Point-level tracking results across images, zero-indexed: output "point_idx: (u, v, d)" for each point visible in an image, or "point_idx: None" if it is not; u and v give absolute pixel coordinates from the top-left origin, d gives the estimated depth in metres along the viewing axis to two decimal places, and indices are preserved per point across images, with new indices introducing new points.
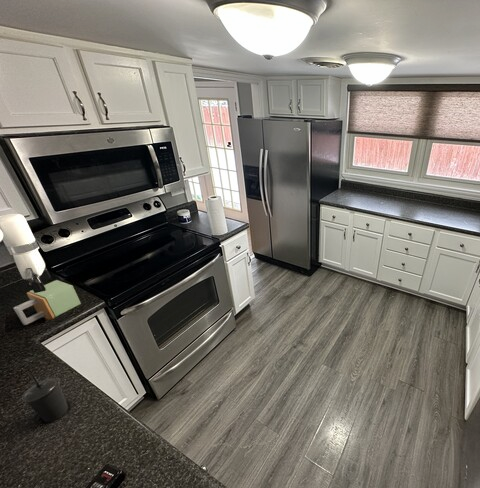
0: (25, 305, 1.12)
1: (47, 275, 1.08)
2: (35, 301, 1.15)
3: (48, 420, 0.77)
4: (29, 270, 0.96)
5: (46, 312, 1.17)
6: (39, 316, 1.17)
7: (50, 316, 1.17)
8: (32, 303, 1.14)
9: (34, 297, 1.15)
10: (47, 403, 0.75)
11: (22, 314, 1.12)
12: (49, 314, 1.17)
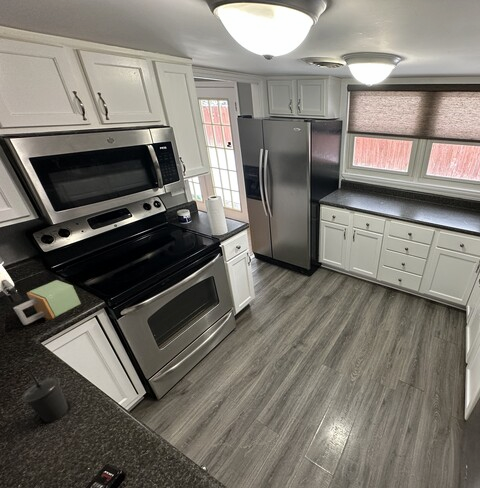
0: (25, 305, 1.12)
1: None
2: (35, 301, 1.15)
3: (48, 420, 0.77)
4: (6, 281, 1.02)
5: (46, 312, 1.17)
6: (39, 316, 1.17)
7: (50, 316, 1.17)
8: (32, 303, 1.14)
9: (34, 297, 1.15)
10: (47, 403, 0.75)
11: (22, 314, 1.12)
12: (49, 314, 1.17)
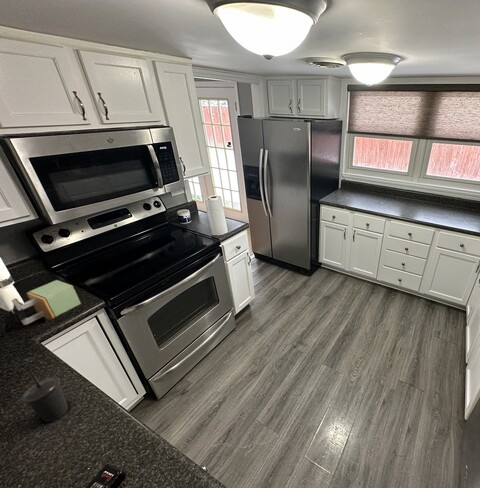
0: (25, 305, 1.12)
1: None
2: (35, 301, 1.15)
3: (48, 420, 0.77)
4: (16, 302, 1.07)
5: (46, 312, 1.17)
6: (39, 316, 1.17)
7: (50, 316, 1.17)
8: (32, 303, 1.14)
9: (34, 297, 1.15)
10: (47, 403, 0.75)
11: None
12: (49, 314, 1.17)
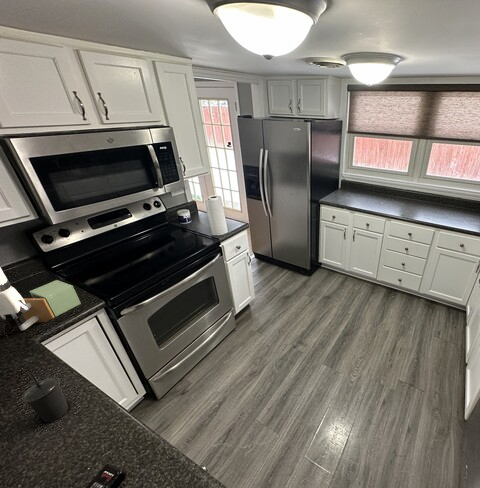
0: None
1: None
2: (29, 305, 1.13)
3: (48, 420, 0.77)
4: (21, 303, 1.06)
5: (43, 314, 1.16)
6: (34, 320, 1.15)
7: (49, 317, 1.17)
8: (27, 307, 1.12)
9: (27, 301, 1.12)
10: (47, 403, 0.75)
11: None
12: (48, 315, 1.16)
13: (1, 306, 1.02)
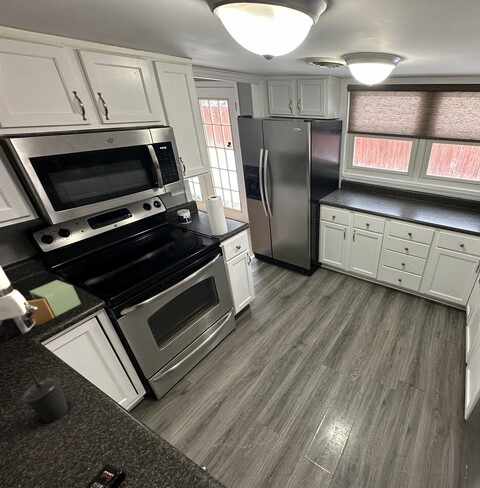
0: None
1: (10, 324, 1.07)
2: None
3: (48, 420, 0.77)
4: (27, 304, 1.05)
5: (42, 315, 1.15)
6: (33, 323, 1.13)
7: (49, 317, 1.16)
8: None
9: None
10: (47, 403, 0.75)
11: (22, 321, 1.08)
12: (48, 315, 1.16)
13: (7, 309, 1.01)
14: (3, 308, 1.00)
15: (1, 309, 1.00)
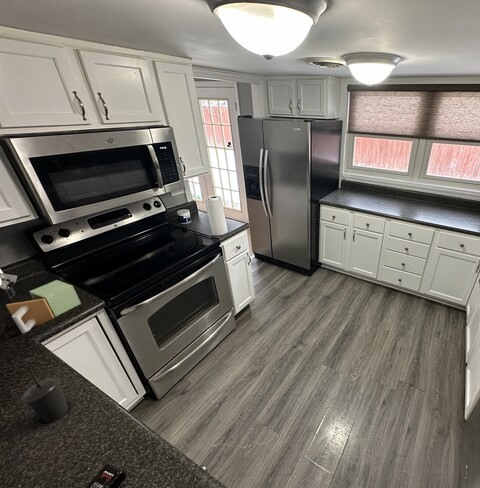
0: (21, 312, 1.08)
1: None
2: (26, 308, 1.11)
3: (48, 420, 0.77)
4: (3, 274, 0.97)
5: (42, 315, 1.15)
6: (33, 323, 1.13)
7: (49, 317, 1.16)
8: (25, 310, 1.10)
9: (23, 304, 1.11)
10: (47, 403, 0.75)
11: (22, 321, 1.08)
12: (48, 315, 1.16)
13: None
14: None
15: None
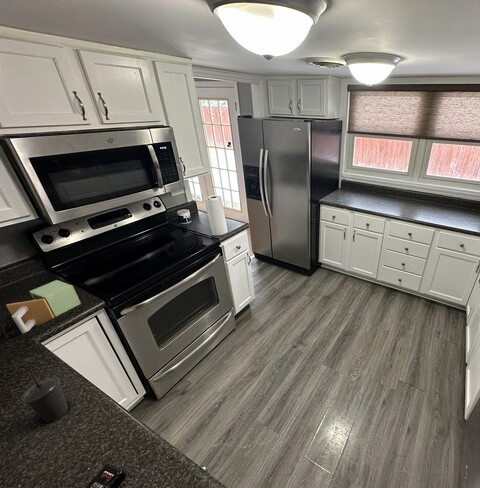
0: (21, 312, 1.08)
1: None
2: (26, 308, 1.11)
3: (48, 420, 0.77)
4: None
5: (42, 315, 1.15)
6: (33, 323, 1.13)
7: (49, 317, 1.16)
8: (25, 310, 1.10)
9: (23, 304, 1.11)
10: (47, 403, 0.75)
11: (22, 321, 1.08)
12: (48, 315, 1.16)
13: None
14: None
15: None
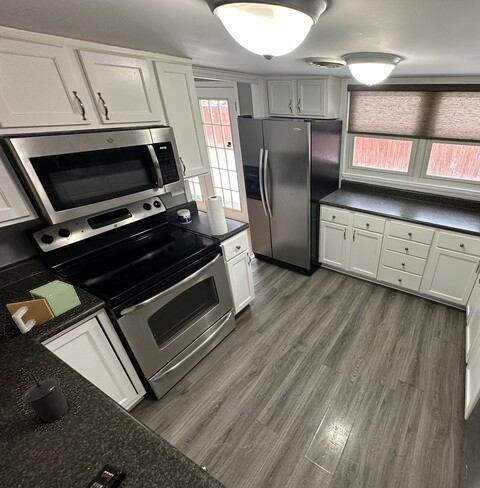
0: (21, 312, 1.08)
1: None
2: (26, 308, 1.11)
3: (48, 420, 0.77)
4: None
5: (42, 315, 1.15)
6: (33, 323, 1.13)
7: (49, 317, 1.16)
8: (25, 310, 1.10)
9: (23, 304, 1.11)
10: (47, 403, 0.75)
11: (22, 321, 1.08)
12: (48, 315, 1.16)
13: None
14: None
15: None
